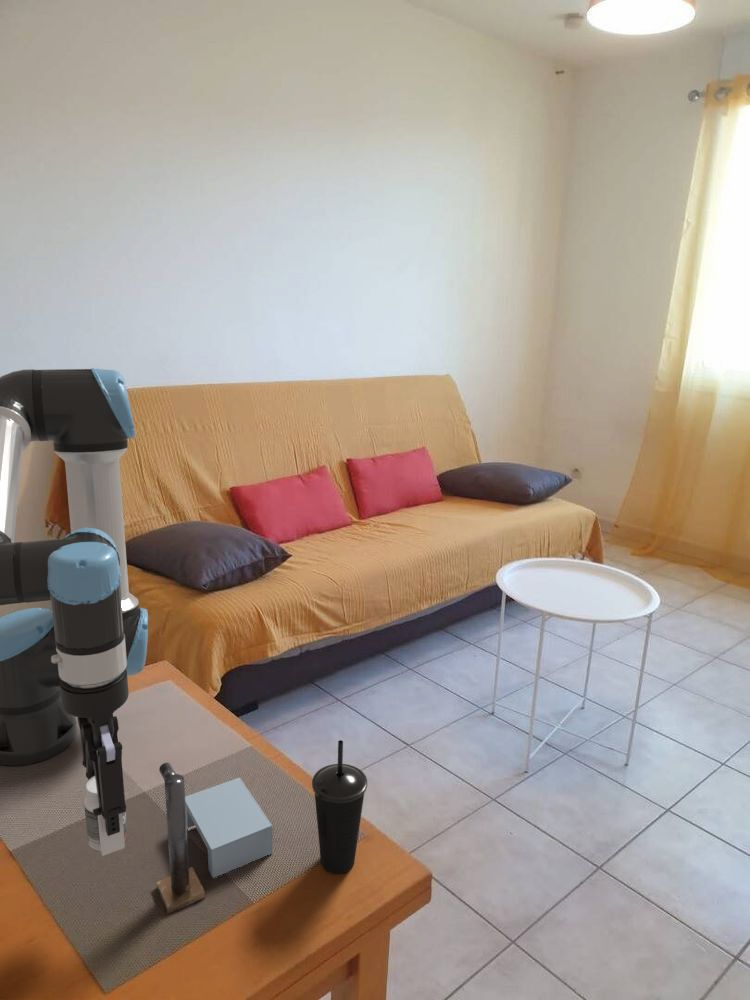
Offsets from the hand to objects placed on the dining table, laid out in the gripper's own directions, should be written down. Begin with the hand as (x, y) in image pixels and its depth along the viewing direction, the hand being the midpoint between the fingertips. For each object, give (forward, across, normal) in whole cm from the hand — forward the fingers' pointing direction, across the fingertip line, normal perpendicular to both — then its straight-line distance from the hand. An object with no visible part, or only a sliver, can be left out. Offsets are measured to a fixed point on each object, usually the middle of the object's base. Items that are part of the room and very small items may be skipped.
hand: (107, 835), depth 91 cm
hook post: (+11, +2, +8) cm, 14 cm away
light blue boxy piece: (+11, -4, +17) cm, 21 cm away
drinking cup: (+11, +8, +29) cm, 32 cm away
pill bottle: (+1, 0, 0) cm, 1 cm away
